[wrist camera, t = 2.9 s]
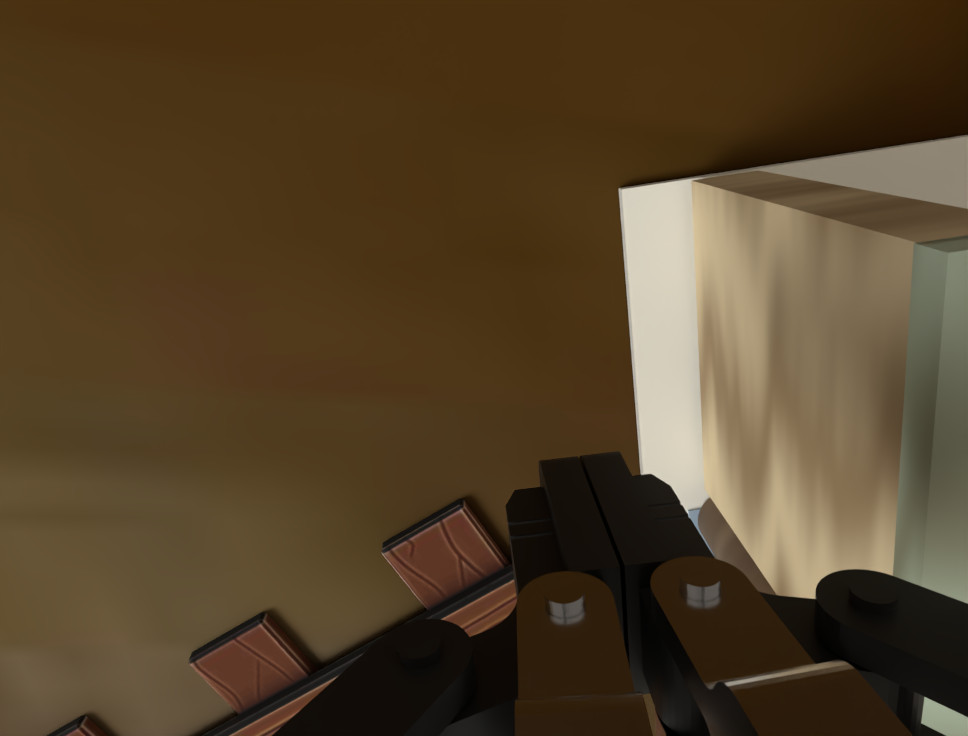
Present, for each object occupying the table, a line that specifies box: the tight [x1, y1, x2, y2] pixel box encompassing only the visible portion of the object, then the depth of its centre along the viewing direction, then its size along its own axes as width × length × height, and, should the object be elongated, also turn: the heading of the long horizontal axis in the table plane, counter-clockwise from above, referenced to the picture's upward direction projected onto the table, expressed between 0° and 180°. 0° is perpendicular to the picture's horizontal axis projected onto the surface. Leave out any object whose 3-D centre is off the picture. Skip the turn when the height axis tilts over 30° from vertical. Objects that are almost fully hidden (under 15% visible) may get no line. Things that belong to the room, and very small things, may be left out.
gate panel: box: [691, 170, 968, 736], centre depth 17 cm, size 10×2×12 cm, turn 8°
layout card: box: [619, 135, 968, 556], centre depth 26 cm, size 24×15×1 cm, turn 8°
